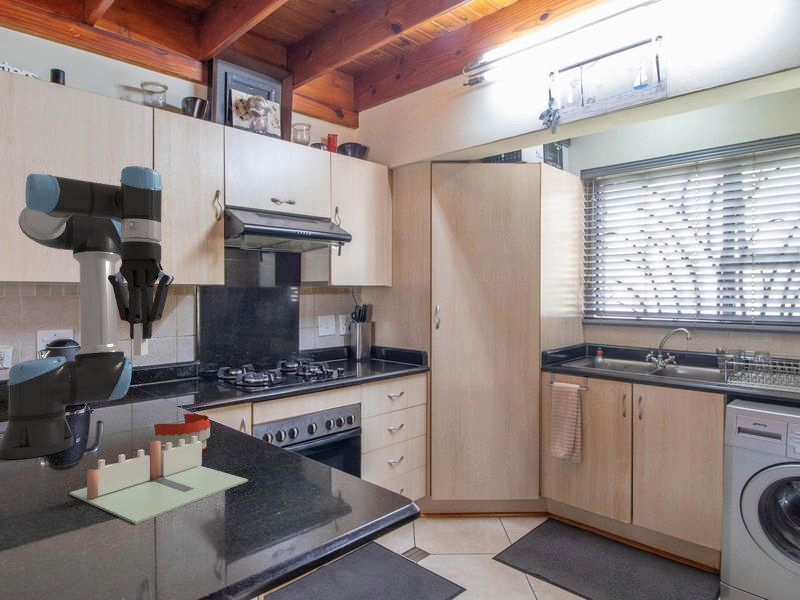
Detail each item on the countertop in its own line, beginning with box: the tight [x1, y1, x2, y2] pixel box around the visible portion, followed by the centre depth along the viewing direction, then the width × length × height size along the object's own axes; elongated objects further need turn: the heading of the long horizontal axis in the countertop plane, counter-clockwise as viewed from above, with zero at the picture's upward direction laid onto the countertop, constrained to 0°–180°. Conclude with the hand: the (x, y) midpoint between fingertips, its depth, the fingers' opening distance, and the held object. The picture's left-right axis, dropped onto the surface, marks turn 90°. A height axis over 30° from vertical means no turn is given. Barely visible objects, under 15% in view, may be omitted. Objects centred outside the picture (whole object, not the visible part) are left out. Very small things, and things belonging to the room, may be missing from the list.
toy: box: [153, 413, 212, 452], centre depth 119 cm, size 12×10×8 cm
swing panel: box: [86, 448, 150, 499], centre depth 93 cm, size 11×2×6 cm, turn 147°
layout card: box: [69, 465, 249, 525], centre depth 95 cm, size 24×23×1 cm
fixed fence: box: [149, 436, 203, 480], centre depth 103 cm, size 2×12×8 cm, turn 147°
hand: (140, 354), depth 98 cm, fingers closed
